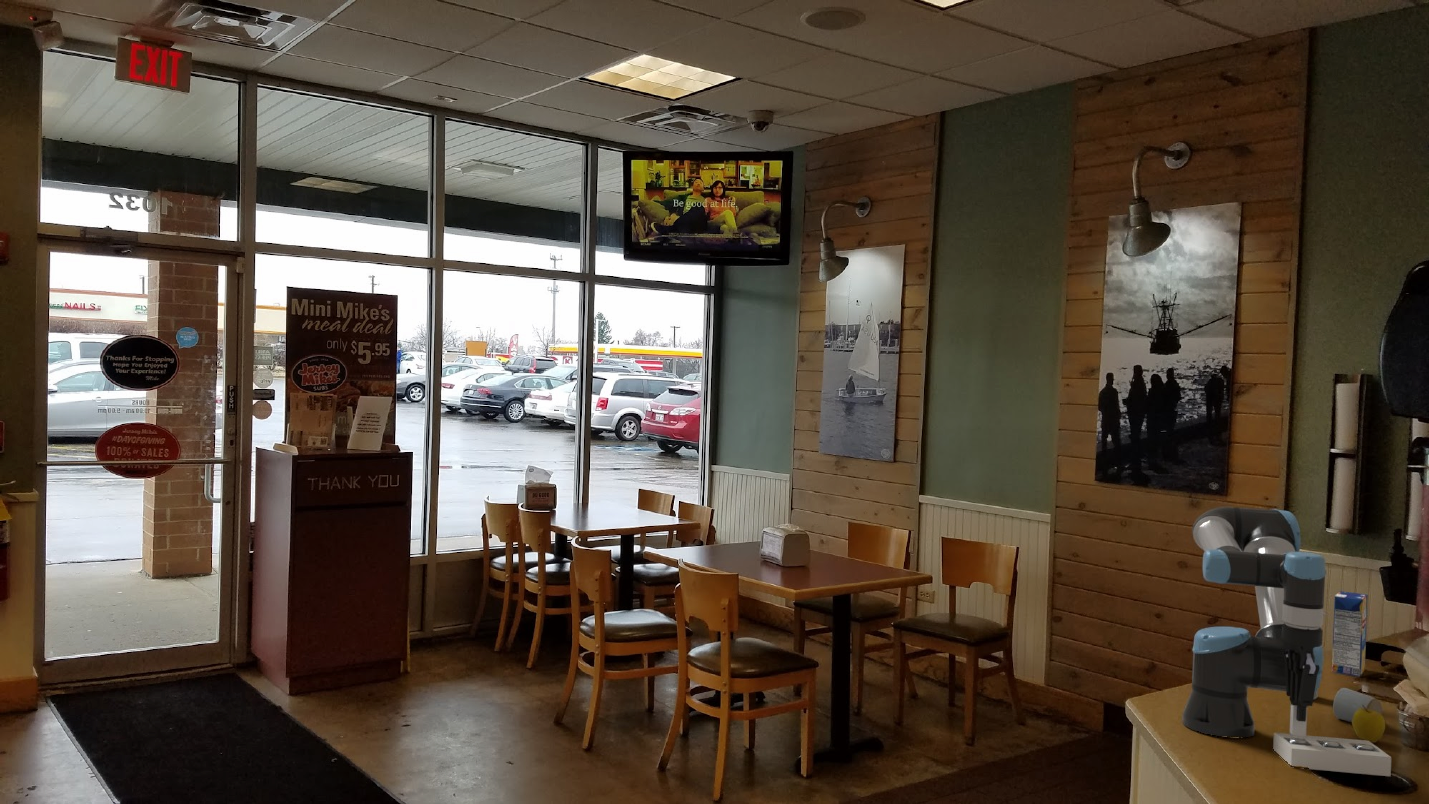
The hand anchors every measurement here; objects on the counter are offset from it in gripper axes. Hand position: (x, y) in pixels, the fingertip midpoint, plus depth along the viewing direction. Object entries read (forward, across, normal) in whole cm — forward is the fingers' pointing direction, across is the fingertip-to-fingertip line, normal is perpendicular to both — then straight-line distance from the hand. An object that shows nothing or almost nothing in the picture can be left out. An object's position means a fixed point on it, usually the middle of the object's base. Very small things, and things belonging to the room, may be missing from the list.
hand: (1297, 734), depth 214 cm
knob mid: (+5, 0, -6) cm, 8 cm away
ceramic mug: (+6, +32, -26) cm, 42 cm away
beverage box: (+7, +84, -44) cm, 95 cm away
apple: (+6, +18, -21) cm, 28 cm away
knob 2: (+5, 0, -13) cm, 14 cm away
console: (+6, 0, -6) cm, 8 cm away
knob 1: (+5, 0, 0) cm, 5 cm away
